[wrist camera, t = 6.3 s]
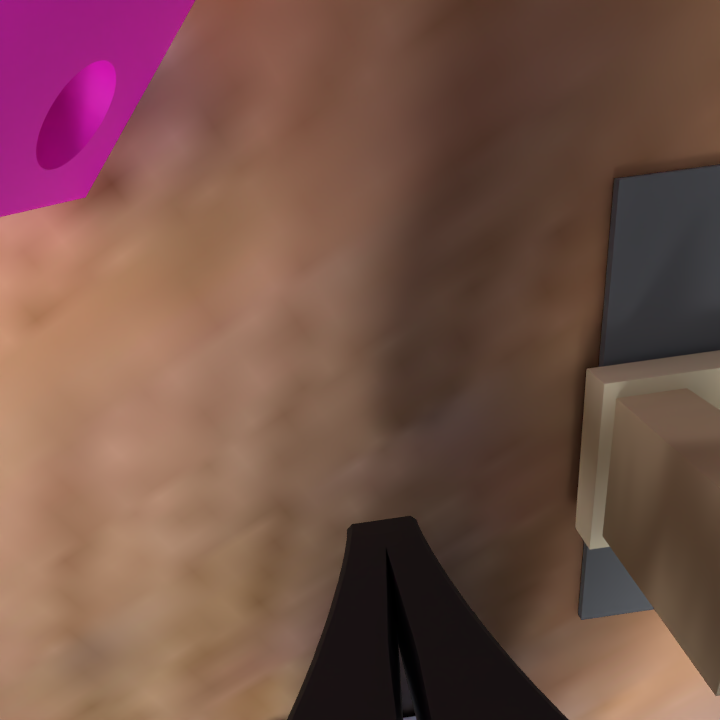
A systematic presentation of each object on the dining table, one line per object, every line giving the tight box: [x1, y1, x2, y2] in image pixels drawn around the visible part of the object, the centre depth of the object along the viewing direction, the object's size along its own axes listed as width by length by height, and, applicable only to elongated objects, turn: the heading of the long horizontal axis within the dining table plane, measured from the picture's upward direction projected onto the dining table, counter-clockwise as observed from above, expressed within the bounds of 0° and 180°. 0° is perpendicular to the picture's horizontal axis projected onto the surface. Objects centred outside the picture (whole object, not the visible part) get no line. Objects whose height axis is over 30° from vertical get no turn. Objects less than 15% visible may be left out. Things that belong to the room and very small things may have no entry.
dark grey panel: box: [578, 164, 720, 620], centre depth 13 cm, size 13×4×1 cm, turn 7°
